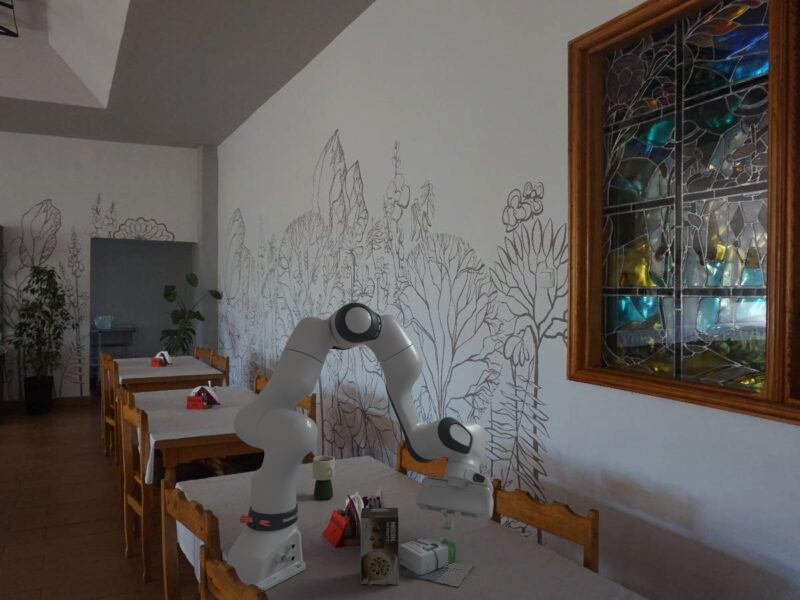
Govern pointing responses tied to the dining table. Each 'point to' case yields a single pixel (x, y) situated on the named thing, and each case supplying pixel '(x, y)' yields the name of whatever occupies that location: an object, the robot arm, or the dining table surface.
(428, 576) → the felt mat
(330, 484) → the character mug
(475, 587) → the dining table surface
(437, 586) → the dining table surface
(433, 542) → the ink box
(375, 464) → the dining table surface
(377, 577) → the coffee box
